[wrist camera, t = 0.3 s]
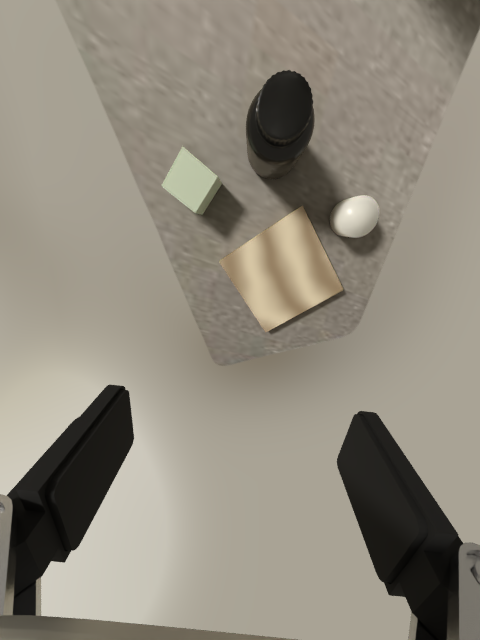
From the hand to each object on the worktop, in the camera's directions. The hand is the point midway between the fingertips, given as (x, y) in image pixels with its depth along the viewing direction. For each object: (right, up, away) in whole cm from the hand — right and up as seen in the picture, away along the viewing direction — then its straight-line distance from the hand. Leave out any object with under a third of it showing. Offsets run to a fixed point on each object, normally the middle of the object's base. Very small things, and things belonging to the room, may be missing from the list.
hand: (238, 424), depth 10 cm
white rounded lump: (+16, +19, +24) cm, 34 cm away
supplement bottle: (+4, +27, +21) cm, 35 cm away
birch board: (+7, +12, +27) cm, 30 cm away
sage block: (-6, +23, +23) cm, 33 cm away
